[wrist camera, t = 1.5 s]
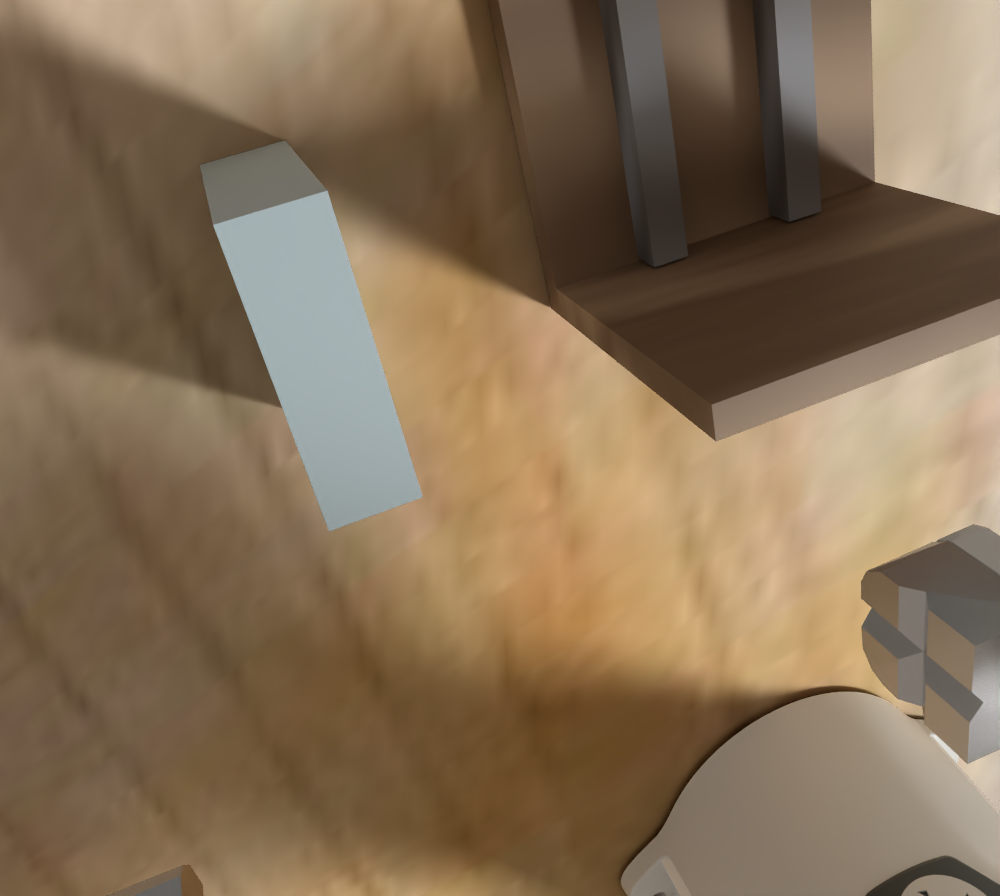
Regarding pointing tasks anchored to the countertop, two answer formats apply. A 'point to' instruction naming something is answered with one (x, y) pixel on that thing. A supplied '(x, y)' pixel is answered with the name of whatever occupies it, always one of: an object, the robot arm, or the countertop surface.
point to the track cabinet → (733, 202)
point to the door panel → (311, 330)
